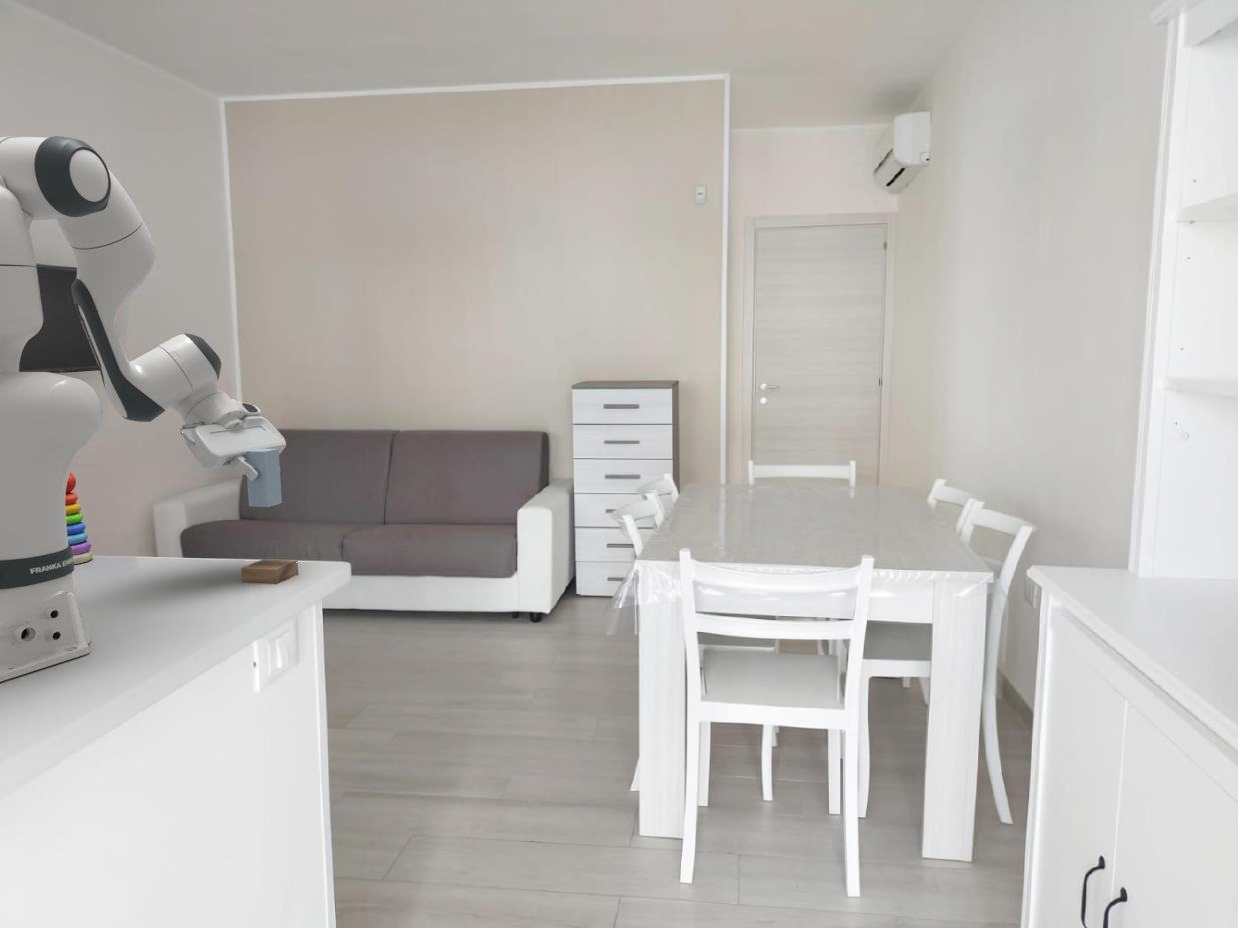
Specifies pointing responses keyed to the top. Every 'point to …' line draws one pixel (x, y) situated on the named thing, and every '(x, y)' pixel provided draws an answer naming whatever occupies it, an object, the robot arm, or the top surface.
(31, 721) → the top surface
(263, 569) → the base block
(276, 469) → the pillar
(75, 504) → the stacking toy
